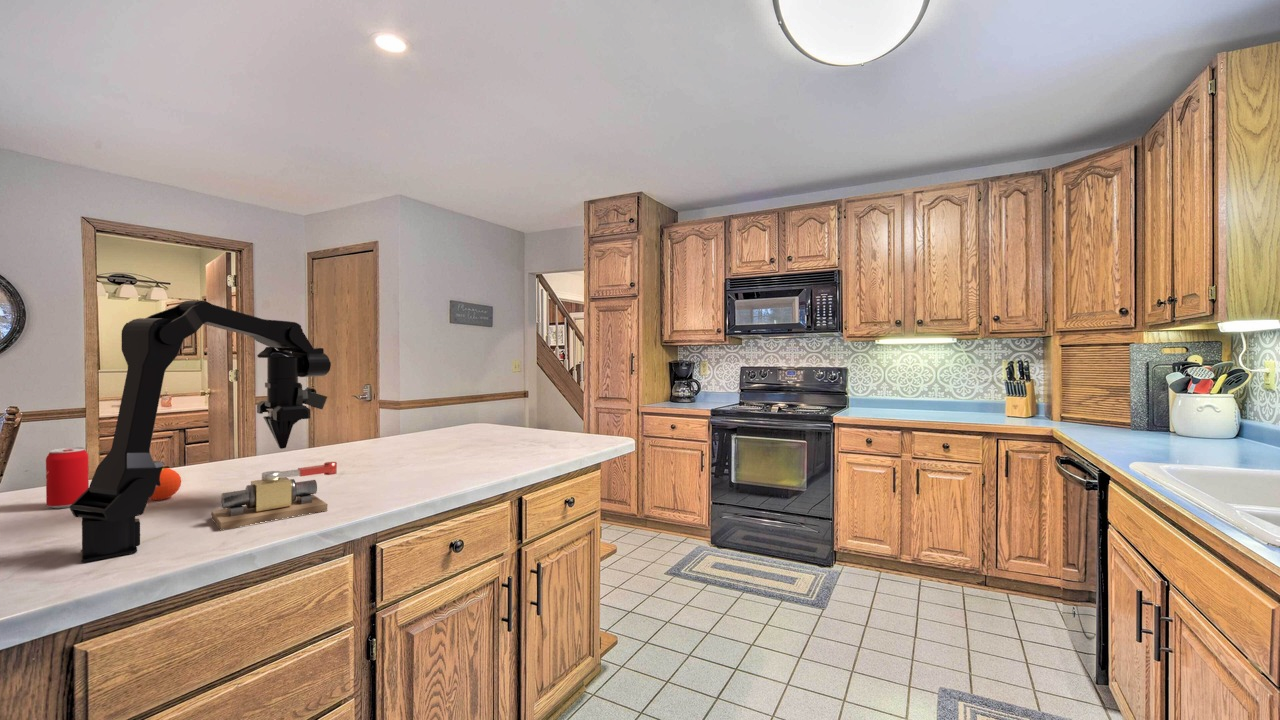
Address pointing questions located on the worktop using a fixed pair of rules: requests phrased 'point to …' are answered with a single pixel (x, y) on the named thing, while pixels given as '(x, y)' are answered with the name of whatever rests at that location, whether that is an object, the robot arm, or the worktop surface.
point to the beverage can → (66, 476)
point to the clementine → (167, 484)
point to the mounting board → (266, 514)
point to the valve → (268, 495)
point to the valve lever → (301, 472)
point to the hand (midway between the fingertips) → (282, 448)
